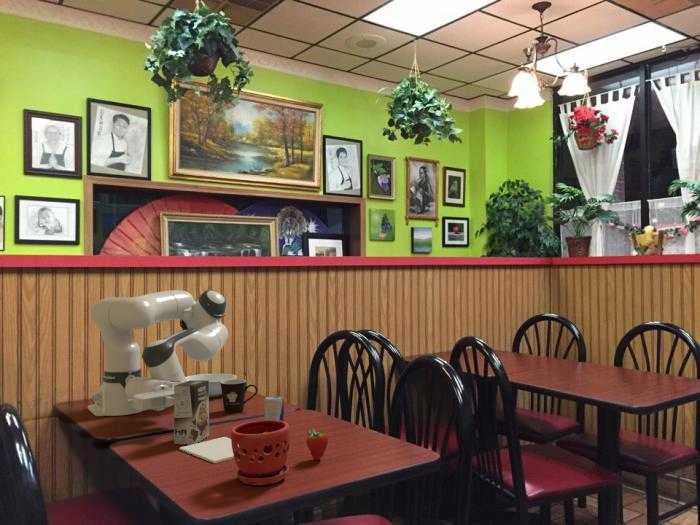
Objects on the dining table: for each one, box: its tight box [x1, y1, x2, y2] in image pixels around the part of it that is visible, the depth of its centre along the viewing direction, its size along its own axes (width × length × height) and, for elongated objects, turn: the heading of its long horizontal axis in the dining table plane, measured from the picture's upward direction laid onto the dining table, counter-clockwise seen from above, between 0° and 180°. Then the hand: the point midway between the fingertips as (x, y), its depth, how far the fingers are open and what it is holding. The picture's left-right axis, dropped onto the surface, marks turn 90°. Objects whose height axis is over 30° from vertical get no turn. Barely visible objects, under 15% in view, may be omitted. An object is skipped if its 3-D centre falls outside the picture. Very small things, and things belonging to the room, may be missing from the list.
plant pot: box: [230, 419, 291, 487], centre depth 135 cm, size 13×13×12 cm
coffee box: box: [173, 380, 210, 446], centre depth 168 cm, size 9×6×16 cm
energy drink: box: [263, 395, 285, 433], centre depth 166 cm, size 5×5×12 cm
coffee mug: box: [221, 378, 258, 414], centre depth 202 cm, size 12×9×10 cm
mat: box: [178, 436, 239, 464], centre depth 158 cm, size 17×14×1 cm
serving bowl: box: [185, 373, 237, 398], centre depth 231 cm, size 21×21×7 cm
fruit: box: [305, 427, 329, 461], centre depth 149 cm, size 5×5×8 cm
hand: (181, 401), depth 172 cm, fingers closed
